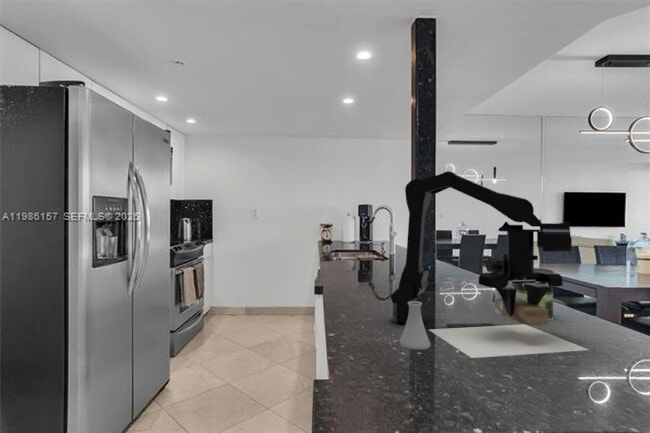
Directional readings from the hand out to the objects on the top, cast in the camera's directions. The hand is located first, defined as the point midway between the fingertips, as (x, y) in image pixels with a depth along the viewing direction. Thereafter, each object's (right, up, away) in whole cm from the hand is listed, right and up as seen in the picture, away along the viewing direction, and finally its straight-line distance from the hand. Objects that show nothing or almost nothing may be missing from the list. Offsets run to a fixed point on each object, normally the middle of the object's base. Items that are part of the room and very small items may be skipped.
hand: (520, 315), depth 89 cm
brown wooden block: (0, -1, 0) cm, 1 cm away
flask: (-26, -6, -5) cm, 28 cm away
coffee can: (+15, -6, +21) cm, 26 cm away
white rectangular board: (-5, -6, -1) cm, 8 cm away
